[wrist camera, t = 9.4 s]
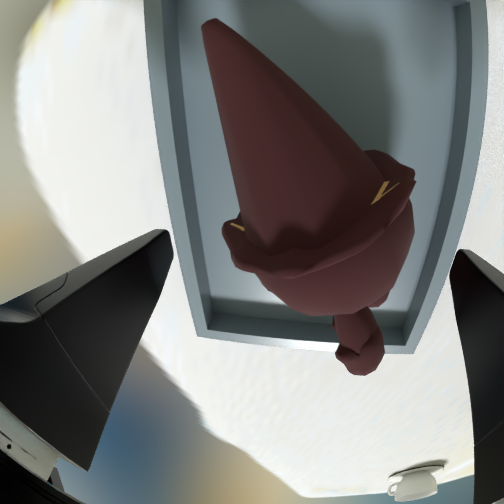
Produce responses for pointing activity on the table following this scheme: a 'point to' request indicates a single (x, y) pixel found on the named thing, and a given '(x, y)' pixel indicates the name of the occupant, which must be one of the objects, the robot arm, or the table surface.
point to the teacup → (415, 483)
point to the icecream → (308, 199)
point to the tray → (348, 117)
